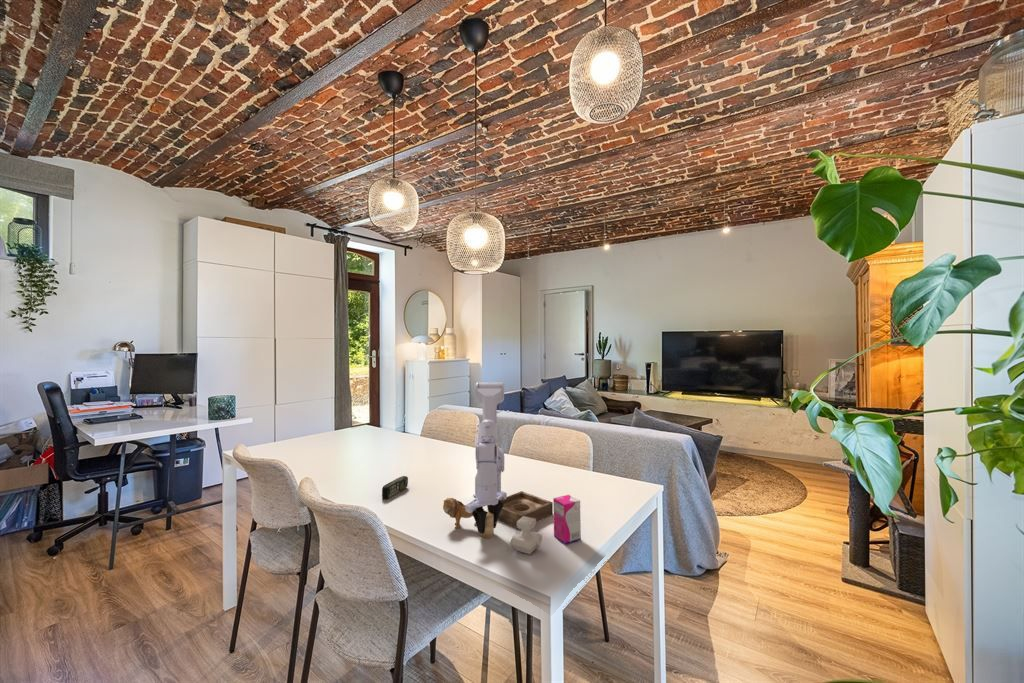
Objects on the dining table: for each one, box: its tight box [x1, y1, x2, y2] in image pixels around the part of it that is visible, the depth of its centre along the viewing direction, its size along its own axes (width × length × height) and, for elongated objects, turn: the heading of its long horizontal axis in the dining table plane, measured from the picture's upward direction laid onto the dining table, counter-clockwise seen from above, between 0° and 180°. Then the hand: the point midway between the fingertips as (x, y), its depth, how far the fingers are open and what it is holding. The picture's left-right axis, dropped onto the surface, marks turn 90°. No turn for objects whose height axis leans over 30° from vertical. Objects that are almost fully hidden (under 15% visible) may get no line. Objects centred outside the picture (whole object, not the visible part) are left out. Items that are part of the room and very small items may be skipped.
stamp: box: [509, 516, 543, 555], centre depth 112 cm, size 9×7×8 cm
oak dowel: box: [479, 511, 495, 539], centre depth 121 cm, size 4×4×6 cm
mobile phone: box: [381, 475, 409, 500], centre depth 154 cm, size 5×3×15 cm
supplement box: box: [552, 494, 582, 545], centre depth 119 cm, size 6×6×12 cm
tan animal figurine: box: [442, 497, 477, 530], centre depth 126 cm, size 15×5×9 cm, turn 91°
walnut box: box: [498, 491, 554, 529], centre depth 134 cm, size 14×15×4 cm
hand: (486, 529), depth 121 cm, fingers closed on oak dowel, 4 cm apart
